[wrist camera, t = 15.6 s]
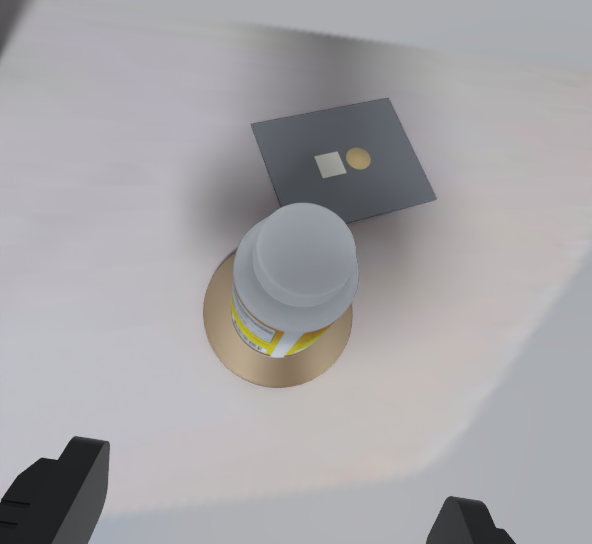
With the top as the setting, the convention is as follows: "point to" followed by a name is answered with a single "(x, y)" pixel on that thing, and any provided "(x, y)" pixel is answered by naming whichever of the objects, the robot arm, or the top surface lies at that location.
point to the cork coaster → (256, 364)
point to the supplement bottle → (292, 279)
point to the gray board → (344, 160)
